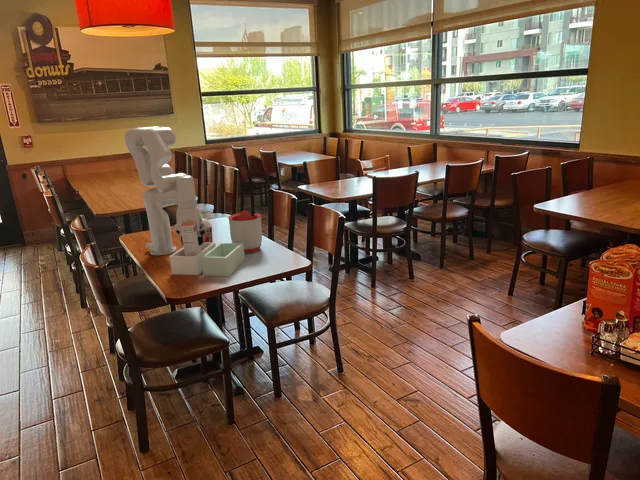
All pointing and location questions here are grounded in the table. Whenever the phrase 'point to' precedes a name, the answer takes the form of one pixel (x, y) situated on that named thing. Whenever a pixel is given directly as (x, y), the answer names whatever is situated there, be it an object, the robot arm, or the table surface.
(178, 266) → the white open tray
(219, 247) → the bin
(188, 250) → the cracker box
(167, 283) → the table surface
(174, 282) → the table surface
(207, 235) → the smoothie
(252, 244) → the citrus juicer
